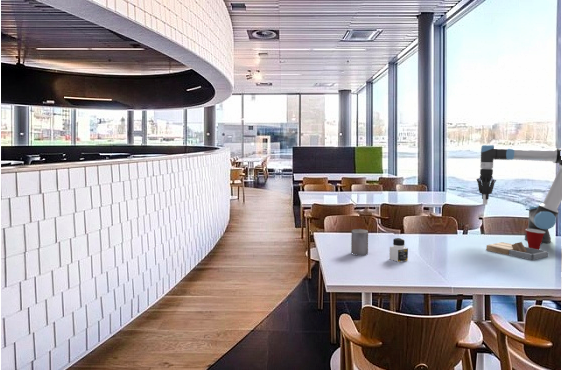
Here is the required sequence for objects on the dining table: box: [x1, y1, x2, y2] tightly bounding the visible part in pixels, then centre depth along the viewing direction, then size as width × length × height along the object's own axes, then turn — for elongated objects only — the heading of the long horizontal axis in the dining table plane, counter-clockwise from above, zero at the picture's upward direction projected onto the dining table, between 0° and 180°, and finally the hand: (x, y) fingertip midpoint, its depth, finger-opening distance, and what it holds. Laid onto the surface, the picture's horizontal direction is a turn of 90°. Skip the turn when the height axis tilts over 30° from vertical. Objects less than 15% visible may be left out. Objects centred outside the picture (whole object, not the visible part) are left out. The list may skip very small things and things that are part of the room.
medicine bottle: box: [388, 237, 409, 263], centre depth 250 cm, size 7×7×12 cm
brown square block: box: [511, 241, 527, 253], centre depth 264 cm, size 6×6×3 cm
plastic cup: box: [525, 228, 545, 250], centre depth 275 cm, size 11×11×12 cm
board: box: [486, 242, 514, 256], centre depth 272 cm, size 16×14×3 cm
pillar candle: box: [350, 228, 369, 256], centre depth 263 cm, size 10×10×15 cm
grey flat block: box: [508, 246, 549, 261], centre depth 260 cm, size 15×14×3 cm
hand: (485, 204), depth 297 cm, fingers closed
